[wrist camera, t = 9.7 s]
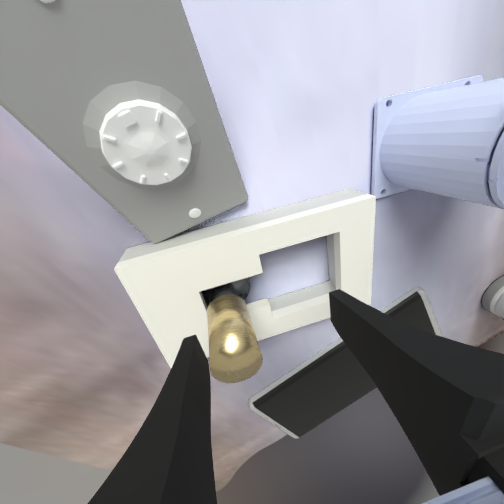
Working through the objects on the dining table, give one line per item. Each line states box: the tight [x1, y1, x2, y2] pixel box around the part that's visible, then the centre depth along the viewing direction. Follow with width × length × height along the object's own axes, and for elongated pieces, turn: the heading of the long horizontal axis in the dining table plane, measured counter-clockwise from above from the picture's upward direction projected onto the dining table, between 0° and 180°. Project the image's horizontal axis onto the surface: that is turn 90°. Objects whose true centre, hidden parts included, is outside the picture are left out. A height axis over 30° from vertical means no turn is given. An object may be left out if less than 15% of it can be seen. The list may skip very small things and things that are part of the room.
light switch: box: [0, 0, 248, 244], centre depth 14 cm, size 8×6×14 cm
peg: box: [201, 278, 263, 383], centre depth 18 cm, size 5×5×10 cm
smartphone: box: [248, 287, 442, 438], centre depth 33 cm, size 13×27×2 cm, turn 125°
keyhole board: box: [114, 188, 376, 368], centre depth 21 cm, size 20×11×4 cm, turn 102°
